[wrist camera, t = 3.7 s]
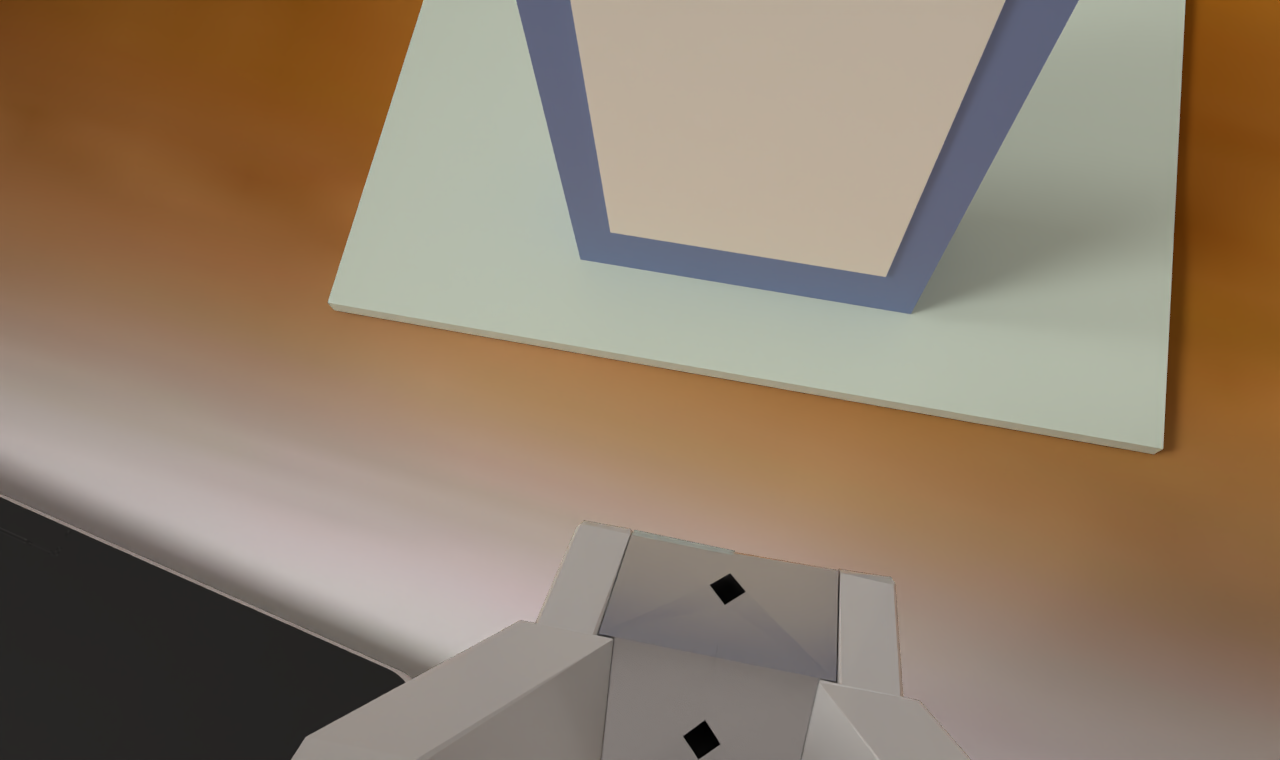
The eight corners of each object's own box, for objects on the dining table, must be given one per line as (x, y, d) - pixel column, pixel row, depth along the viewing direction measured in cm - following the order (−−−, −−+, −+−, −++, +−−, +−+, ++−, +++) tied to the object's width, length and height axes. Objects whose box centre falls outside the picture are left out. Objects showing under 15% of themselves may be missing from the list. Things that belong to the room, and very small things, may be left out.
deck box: (579, 262, 20) (480, -136, 11) (605, 154, 21) (533, -308, 12) (910, 317, 20) (1112, -58, 10) (925, 203, 20) (1127, -247, 11)
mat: (334, 310, 21) (327, 302, 20) (510, -249, 25) (507, -264, 25) (1153, 454, 19) (1163, 449, 19) (1187, -175, 23) (1194, -189, 23)
